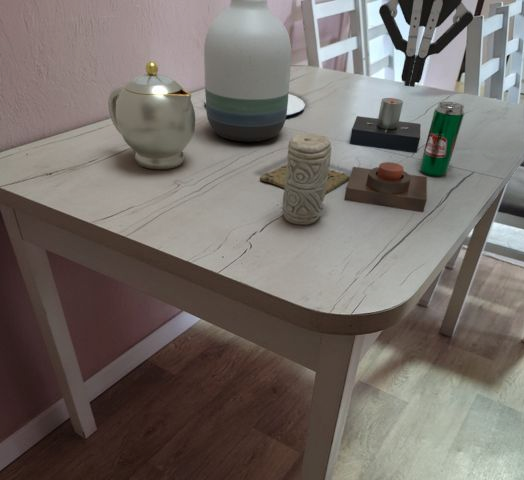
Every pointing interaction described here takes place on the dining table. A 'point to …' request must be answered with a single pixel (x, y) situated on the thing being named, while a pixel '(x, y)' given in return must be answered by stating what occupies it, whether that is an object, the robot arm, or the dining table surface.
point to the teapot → (153, 118)
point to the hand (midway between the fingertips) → (409, 85)
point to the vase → (247, 72)
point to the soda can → (442, 138)
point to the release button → (390, 171)
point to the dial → (389, 113)
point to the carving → (306, 178)
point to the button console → (387, 190)
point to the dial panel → (385, 135)
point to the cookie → (280, 174)
